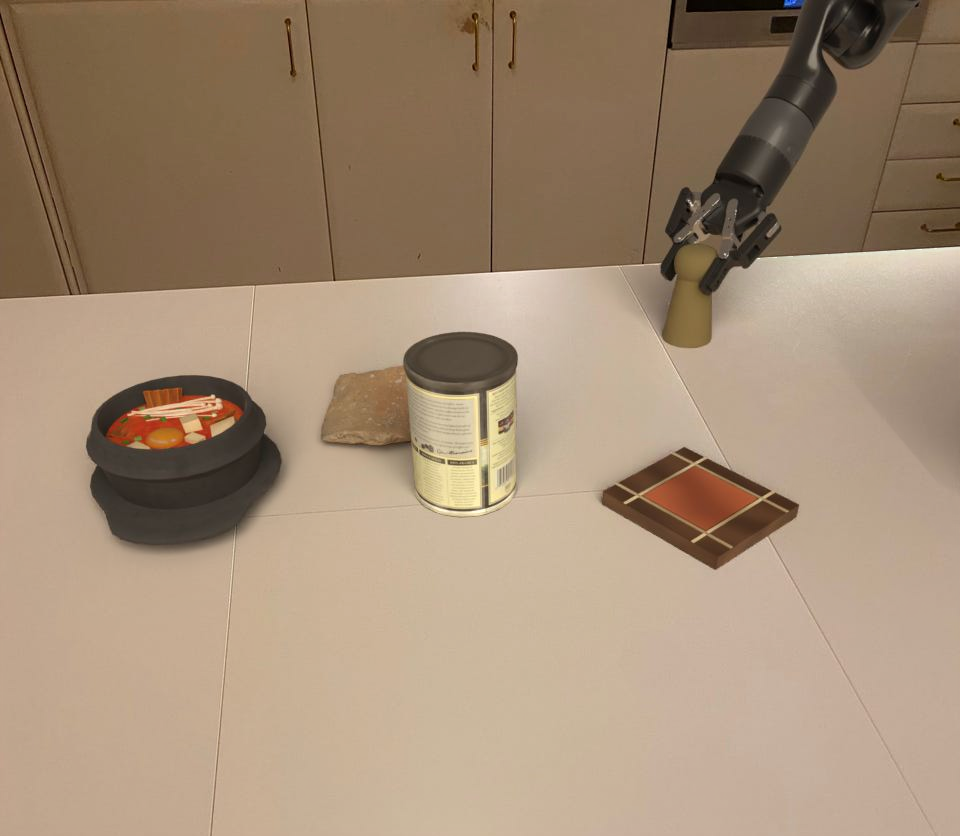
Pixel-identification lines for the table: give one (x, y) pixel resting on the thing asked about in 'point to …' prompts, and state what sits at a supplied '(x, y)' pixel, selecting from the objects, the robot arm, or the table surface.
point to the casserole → (179, 459)
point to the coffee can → (462, 422)
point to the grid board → (700, 506)
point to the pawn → (690, 299)
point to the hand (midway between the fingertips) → (684, 283)
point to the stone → (369, 408)
